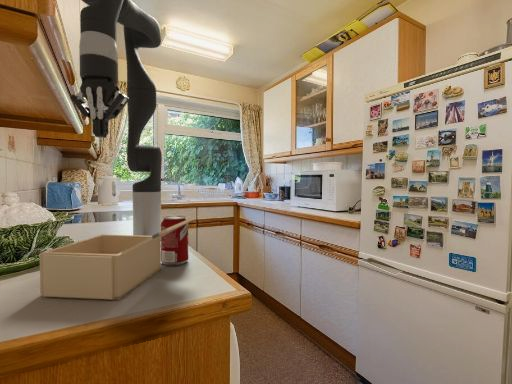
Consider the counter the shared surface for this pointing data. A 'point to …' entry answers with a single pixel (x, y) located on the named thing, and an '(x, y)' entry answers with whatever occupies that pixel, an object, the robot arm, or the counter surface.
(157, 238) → the flap
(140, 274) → the carton
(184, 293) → the counter surface
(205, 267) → the counter surface
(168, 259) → the soda can
